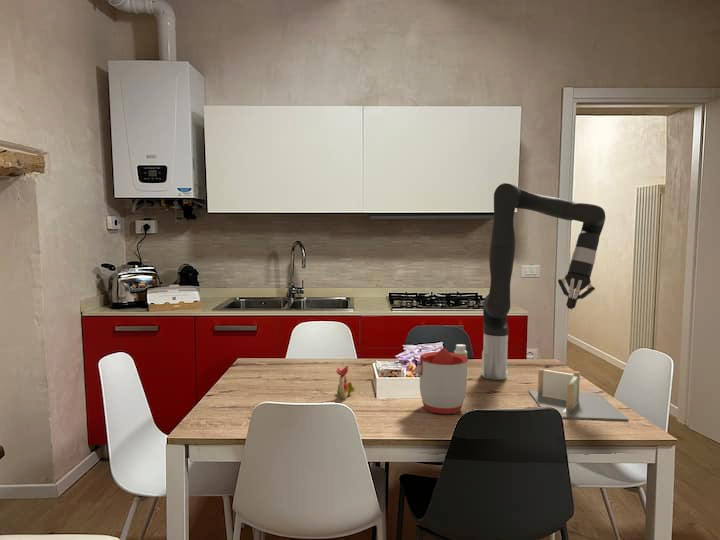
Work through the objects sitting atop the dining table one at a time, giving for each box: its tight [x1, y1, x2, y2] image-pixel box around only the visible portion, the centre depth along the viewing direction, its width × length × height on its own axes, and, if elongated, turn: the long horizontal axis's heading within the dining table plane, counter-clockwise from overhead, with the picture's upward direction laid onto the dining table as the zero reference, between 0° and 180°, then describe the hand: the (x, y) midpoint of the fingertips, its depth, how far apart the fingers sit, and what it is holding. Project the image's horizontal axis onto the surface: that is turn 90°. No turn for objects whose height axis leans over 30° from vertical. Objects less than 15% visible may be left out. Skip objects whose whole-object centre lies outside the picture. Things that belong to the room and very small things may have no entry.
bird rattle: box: [336, 365, 355, 401], centre depth 179 cm, size 6×11×9 cm
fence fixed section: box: [537, 368, 581, 402], centre depth 178 cm, size 14×2×10 cm, turn 55°
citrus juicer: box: [413, 347, 469, 415], centre depth 168 cm, size 16×17×20 cm
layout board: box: [528, 390, 630, 422], centre depth 173 cm, size 24×25×1 cm
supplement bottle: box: [453, 343, 468, 358], centre depth 217 cm, size 5×5×10 cm
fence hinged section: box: [566, 376, 578, 412], centre depth 169 cm, size 12×2×9 cm, turn 149°
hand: (570, 308), depth 185 cm, fingers closed
